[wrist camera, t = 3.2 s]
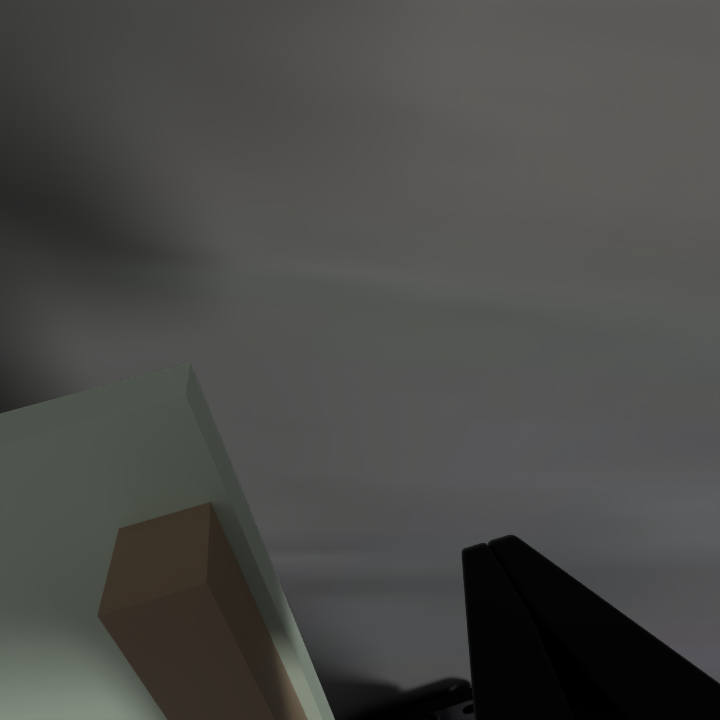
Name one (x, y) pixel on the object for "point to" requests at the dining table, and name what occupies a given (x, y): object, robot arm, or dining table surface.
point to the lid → (138, 567)
